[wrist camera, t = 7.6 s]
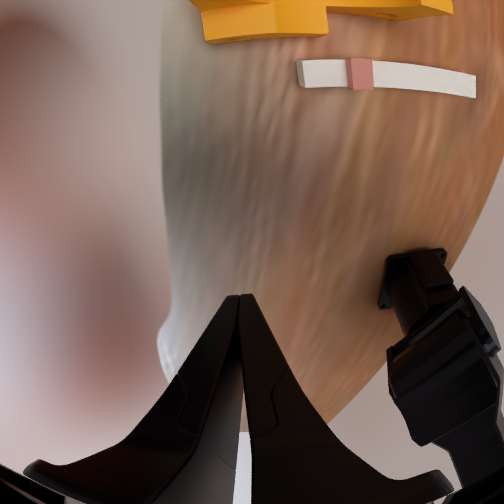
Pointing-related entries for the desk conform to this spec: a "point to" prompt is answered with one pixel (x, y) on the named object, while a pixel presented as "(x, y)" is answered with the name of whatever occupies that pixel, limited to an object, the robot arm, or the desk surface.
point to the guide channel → (383, 76)
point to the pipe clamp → (300, 16)
